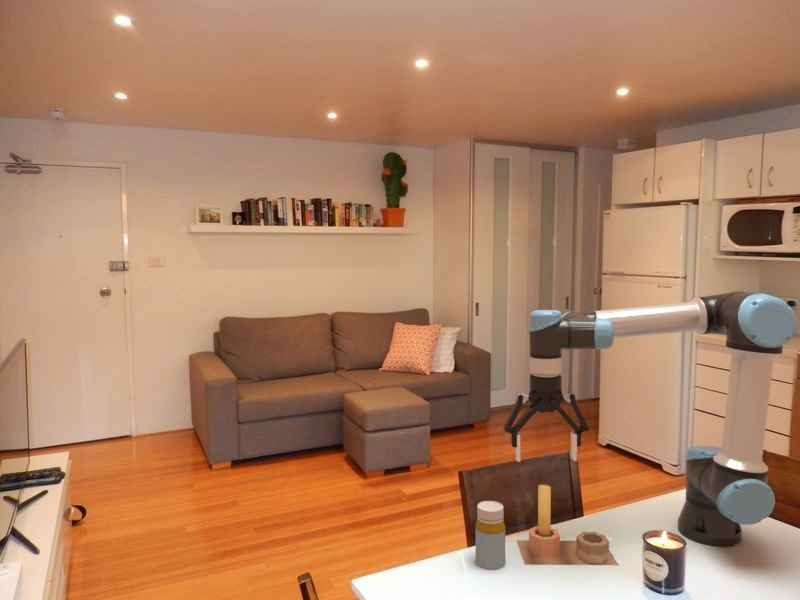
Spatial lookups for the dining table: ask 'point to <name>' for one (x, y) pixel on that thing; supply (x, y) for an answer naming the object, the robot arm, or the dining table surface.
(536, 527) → the bead rust
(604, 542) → the bead beech
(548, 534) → the dowel
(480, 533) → the bottle
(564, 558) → the lacing board
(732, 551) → the dining table surface
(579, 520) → the dining table surface
